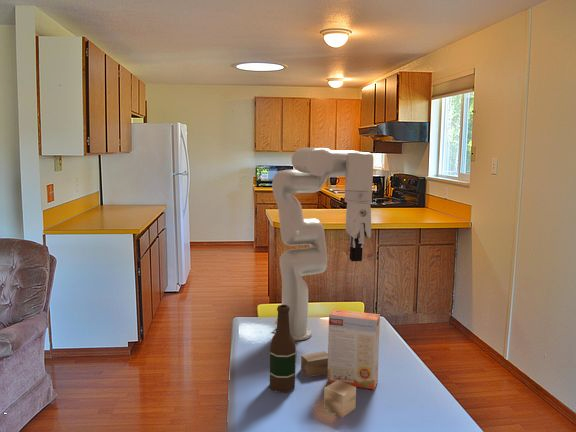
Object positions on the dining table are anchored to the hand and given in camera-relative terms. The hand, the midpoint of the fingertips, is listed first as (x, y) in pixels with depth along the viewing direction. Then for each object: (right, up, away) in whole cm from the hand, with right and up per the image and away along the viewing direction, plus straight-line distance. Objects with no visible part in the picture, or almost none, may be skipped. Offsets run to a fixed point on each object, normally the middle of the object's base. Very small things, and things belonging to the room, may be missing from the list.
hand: (355, 260), depth 142 cm
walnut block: (-11, -35, +11) cm, 38 cm away
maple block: (-6, -38, -10) cm, 40 cm away
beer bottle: (-21, -37, +1) cm, 42 cm away
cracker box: (0, -36, +5) cm, 37 cm away
